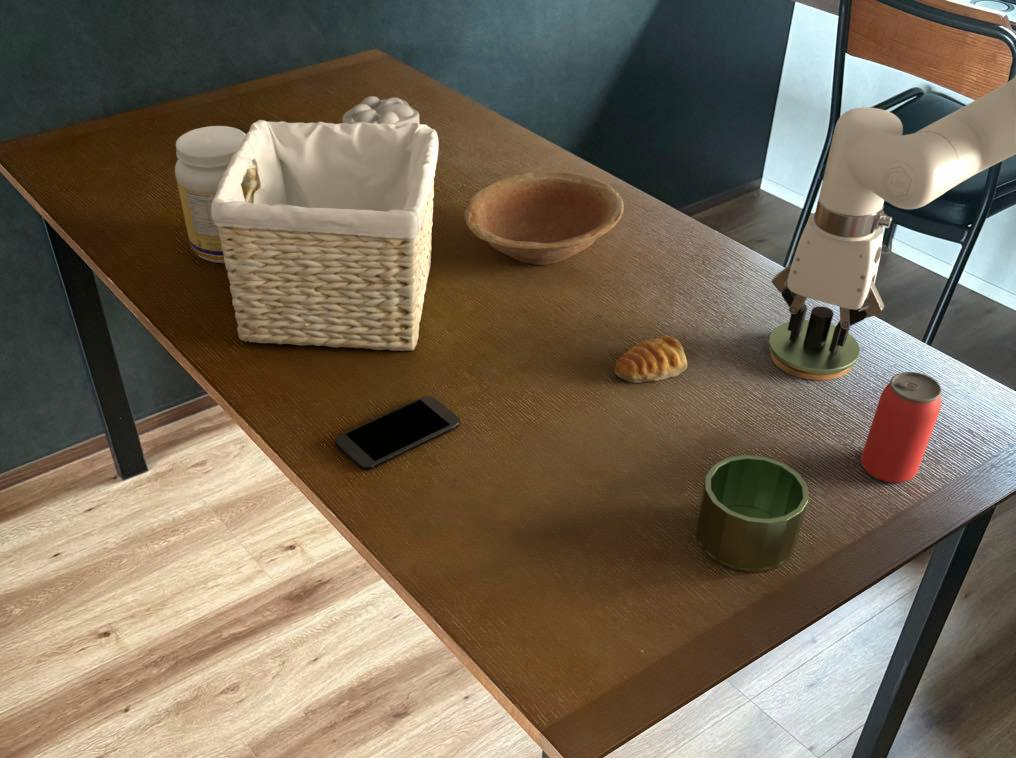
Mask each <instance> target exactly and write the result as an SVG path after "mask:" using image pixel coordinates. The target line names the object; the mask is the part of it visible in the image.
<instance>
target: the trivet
mask: <svg viewBox="0 0 1016 758" xmlns="http://www.w3.org/2000/svg"><path fill="white" fill-rule="evenodd" d="M769 355H770V358H771V360H772V362H773V363H774V364H775V366H776V367H778V368H779V369H780V370H782V371H784V372H785V373H786V374H789V375H791V376H794V377H796V378H800V379H803V380H804V379H805V380H810V381H831V380H835V379H839V378H841V377H844V376H846V375H847V374H848V373H849V372H850V371H851V369H852V368H853V366H851V367H850V368H848V369H846V370H843V371H840V372H835V373H825V374H821V373H810V372H805V371H801V370H798V369H795V368H792V367H790V366H788V365H786V364H784V363H783V362H781V361H780V360H778V359H777V358H776V357H775V356H774V355H773V353H772V352H771V350H770V349H769Z"/></svg>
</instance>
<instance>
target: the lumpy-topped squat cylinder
mask: <svg viewBox="0 0 1016 758" xmlns="http://www.w3.org/2000/svg"><path fill="white" fill-rule="evenodd" d="M341 120H342V121H341V123H347V124H353V123H360V122H366V123H373V124H381V123H384V124H393V125H396V126H399V127H400V126H402V125H403V124H406V123H419V124H421V123H420V113H419V111H418V110H416V109H415V108H413V107H412V106H410V105H409V103H408V101H406V100H404V99H400V98H399V97H396V96H395V97H393V96H392V97H389V98H386V99H380V98H379V97H378V96H375V95H371V96H367V97H365V98H364V99H363V100H362V101H361V102H360V103H359V104H355V106H353V107H352V108H350V109H349V110H347V111H346V112H345V113H344V114H343V116H342V119H341Z"/></svg>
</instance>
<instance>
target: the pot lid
mask: <svg viewBox="0 0 1016 758" xmlns="http://www.w3.org/2000/svg"><path fill="white" fill-rule="evenodd" d="M833 317H834V311H833V310H832V309H831V308H829V307H826V306H821V305H820V306H815V307H812V309H811V311H810V315H809V319H805V320H804V324H803V328H802V331H801V333H800V334H799V336H798V337H797V339H796V340H795V341H790V340H789V338H790V334H791V331H789V330H788V325H789V321H788V322H785V323H782V324H780V325H778V326H777V327H775V328H774V329H773V330H772V332H771V333H770V335H769V339H768V348H769V351H770V350H771V352H772V353H773V355H774V356H775V357H776V358H777V359H778V360H780V361H781V362H783V363H784V364H786V365H788V366H790V367H792V368H795V369H798V370H801V371H805V372H810V373H821V374H825V373H835V372H840V371H843V370H846V369H848V368H850V367H851V366H852V367H853V366H854V365H855V364H856V363H857V361H858V360H859V356H860V353H861V350H860V349H861V348H860V344H859V343H858V340H857V339H856V338H855V337H854V336H853V335H852V334H851V333H849V332H848V336H847V339H846V342H845V344H844V346H843V347H842V346H839V347H838V348H837V350H836V351H835V353H834V354H833V353H830V351H829V348H830V345H831V341H832V337H833V333H834V330H835V327H836V326H837V325H835V324H832V322H833Z"/></svg>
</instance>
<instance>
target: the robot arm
mask: <svg viewBox="0 0 1016 758" xmlns="http://www.w3.org/2000/svg"><path fill="white" fill-rule="evenodd" d="M903 126H904V125H903V122H902V121H901V119H900V118H899V117H898V116H897V115H895V114H894V113H893V112H891V111H888V110H885V109H882V108H876V107H869V106H868V107H866V106H865V107H864V106H863V107H854V108H852V109H849V110H847V111H845V112H843V114H841V115H840V117H839V118H838V119H837V121H836V124H835V127H834V131H833V134H832V139H831V143H830V146H829V147H830V148H829V152H828V156H827V160H826V165H825V168H824V174H823V178H822V182H821V187H820V191H819V195H818V199H817V204H816V207H815V212H813V213H812V214H811V215H810V216H809V218H808V220H807V222H806V224H805V226H804V228H803V231H802V233H801V235H800V238H799V241H798V244H797V247H796V250H795V252H794V256H793V259H792V262H791V263H790V264H789V265H787V266H786V267H784V268H783V269H782V270H781V271H779V272H777V273H776V274H775V275H774V277H773V278H772V279H771V284H772V285H773V286H774V288H776V290H777V291H778V292H779V293H781V297H782V299H783V300H784V302H785V303H786V305H787V306H788V311H789V314H790V317H789V321H788V322H789V325H788V330H789V331H791V334H790V338H789V340H790V341H795V340H796V339H797V337H798V336H799V334H800V333H801V331H802V328H803V324H804V320H806V315H807V312H808V307H807V305H806V303H805V302H806V301H807V299H812V300H815V301H818V302H822V303H825V304H829V305H832V306H836V307H839V321H838V323H837V324H836V325H835V326H836V327H835V330H834V333H833V337H832V341H831V345H830V348H829V351H830V353H833V354H834V353H835V351H836V350H837V348H838V347H839V346H842V347H843V346H844V344H845V342H846V339H847V336H848V333H849V331H850V329H851V326H853V325H855V324H858V323H860V322H862V321H865V319H869V318H872V317H875V316H878V315H881V314H882V313H883V311H884V309H885V304H884V302H883V300H882V297H881V295H880V293H879V291H878V289H877V287H876V285H875V283H876V281H877V275H878V274H877V273H878V270H879V266H880V260H881V255H882V247H883V237H884V230H883V228H886V229H889V228H890V226H891V225H892V221H893V217H892V216H889V215H888V214H886V213H885V211H884V209H885V205H884V203H885V202H886V203H887V204H888V203H889V204H890V205H891V206H894V207H896V208H899V209H902V210H916V209H919V208H923V207H925V206H926V205H929V204H930V203H931V202H933V201H935V200H936V199H937V198H940V197H941V196H943V195H944V194H946V193H947V192H948V191H950V190H951V189H954V188H955V187H956V186H958V185H959V184H961V183H963V182H965V181H967V180H968V179H970V178H971V177H973V176H975V175H977V174H979V173H981V172H983V171H985V170H987V169H989V168H990V167H993V166H995V165H997V164H999V163H1000V162H1003V161H1005V160H1007V159H1009V158H1011V157H1014V156H1016V74H1015V75H1014V77H1013V78H1012V79H1010V80H1009V81H1007V82H1005V83H1004V84H1002V85H1000V86H999V87H997V88H995V89H993V90H991V91H990V92H988V93H986V94H984V95H982V96H980V97H979V98H977V99H975V100H973V101H971V102H970V103H967V104H966V105H964V106H962V107H961V108H959V109H957V110H955V111H953V112H951V113H949V114H947V115H946V116H944V117H942V118H940V119H938V120H936V121H934V122H932V123H930V124H928V125H927V126H925V127H923V128H921V129H920V130H918V131H916V132H914V133H909V134H903V133H904V127H903ZM865 301H866V302H867V305H864V303H865Z"/></svg>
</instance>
